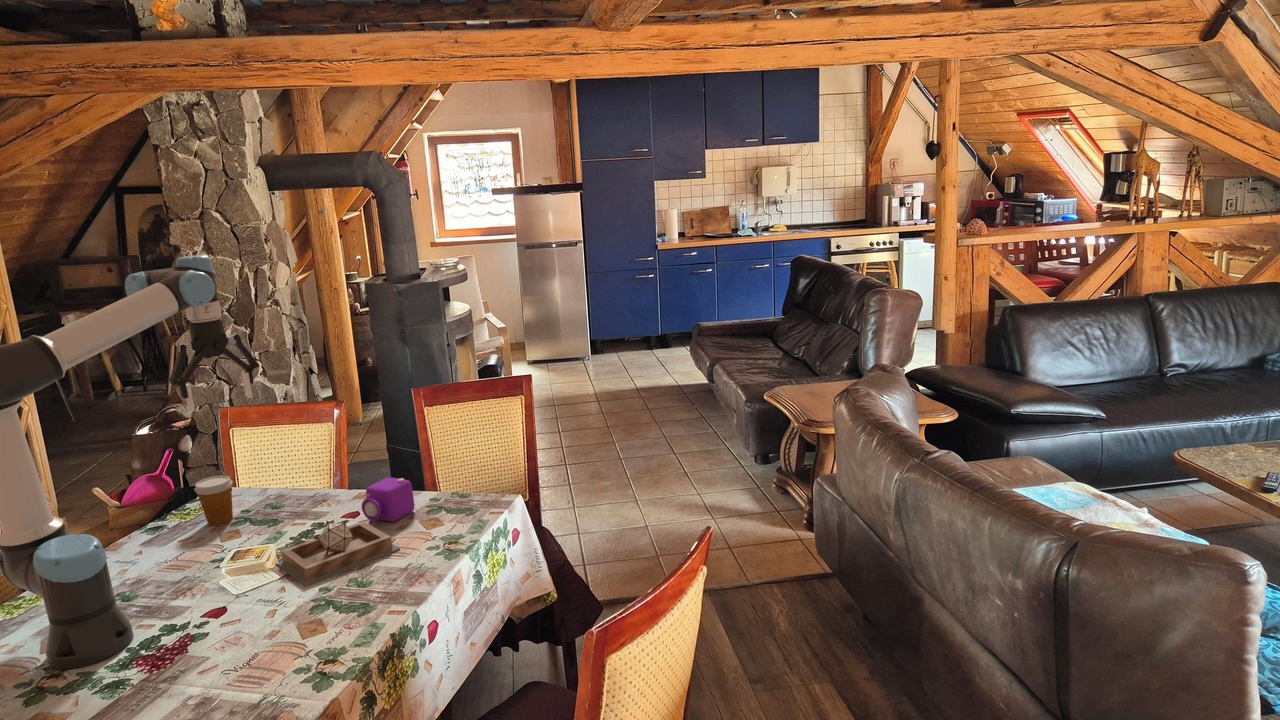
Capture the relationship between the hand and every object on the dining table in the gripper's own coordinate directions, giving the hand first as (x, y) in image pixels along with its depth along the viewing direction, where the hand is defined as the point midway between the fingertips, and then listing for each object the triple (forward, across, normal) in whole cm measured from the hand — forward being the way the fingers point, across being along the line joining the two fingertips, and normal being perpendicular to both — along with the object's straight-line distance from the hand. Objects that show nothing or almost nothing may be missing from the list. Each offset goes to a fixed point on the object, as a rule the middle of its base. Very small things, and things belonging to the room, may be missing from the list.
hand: (221, 403), depth 210 cm
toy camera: (+39, +33, -13) cm, 53 cm away
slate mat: (+39, +13, -25) cm, 48 cm away
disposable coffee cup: (+39, +1, +24) cm, 46 cm away
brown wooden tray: (+39, +13, -25) cm, 48 cm away
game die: (+38, +13, -25) cm, 47 cm away
